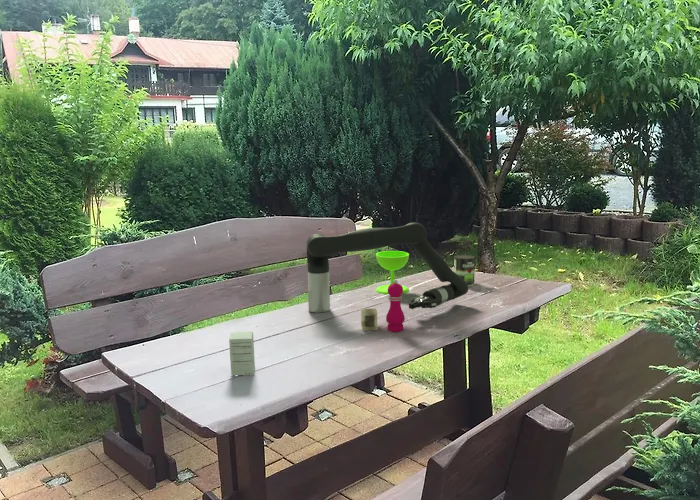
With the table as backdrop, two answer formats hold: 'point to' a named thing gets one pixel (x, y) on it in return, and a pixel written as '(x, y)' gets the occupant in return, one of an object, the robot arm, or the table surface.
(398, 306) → the pepper mill
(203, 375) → the table surface
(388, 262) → the wineglass
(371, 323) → the pale yellow cube-like block
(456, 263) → the coffee can
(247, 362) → the supplement box
